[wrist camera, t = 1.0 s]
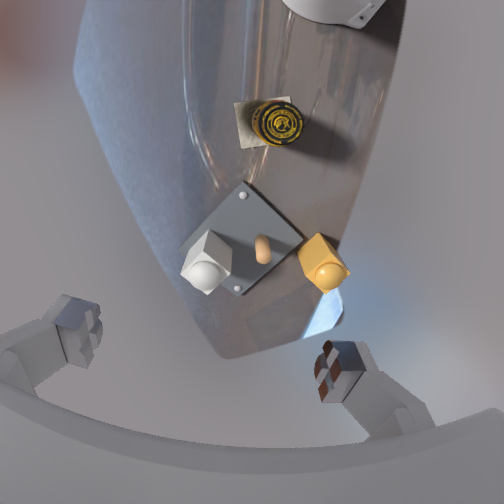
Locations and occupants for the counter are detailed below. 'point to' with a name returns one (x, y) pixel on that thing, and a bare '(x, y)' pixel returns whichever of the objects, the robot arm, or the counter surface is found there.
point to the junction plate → (237, 243)
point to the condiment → (268, 122)
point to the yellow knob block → (322, 263)
